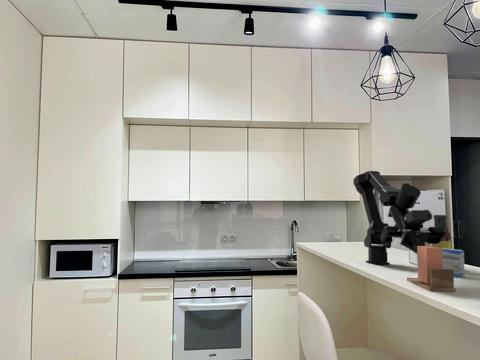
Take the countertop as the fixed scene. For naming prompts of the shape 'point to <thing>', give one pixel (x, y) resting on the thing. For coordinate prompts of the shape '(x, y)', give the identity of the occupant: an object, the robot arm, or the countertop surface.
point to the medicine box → (453, 261)
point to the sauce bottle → (446, 240)
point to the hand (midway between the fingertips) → (424, 256)
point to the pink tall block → (428, 261)
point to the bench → (437, 280)
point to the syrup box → (412, 255)
